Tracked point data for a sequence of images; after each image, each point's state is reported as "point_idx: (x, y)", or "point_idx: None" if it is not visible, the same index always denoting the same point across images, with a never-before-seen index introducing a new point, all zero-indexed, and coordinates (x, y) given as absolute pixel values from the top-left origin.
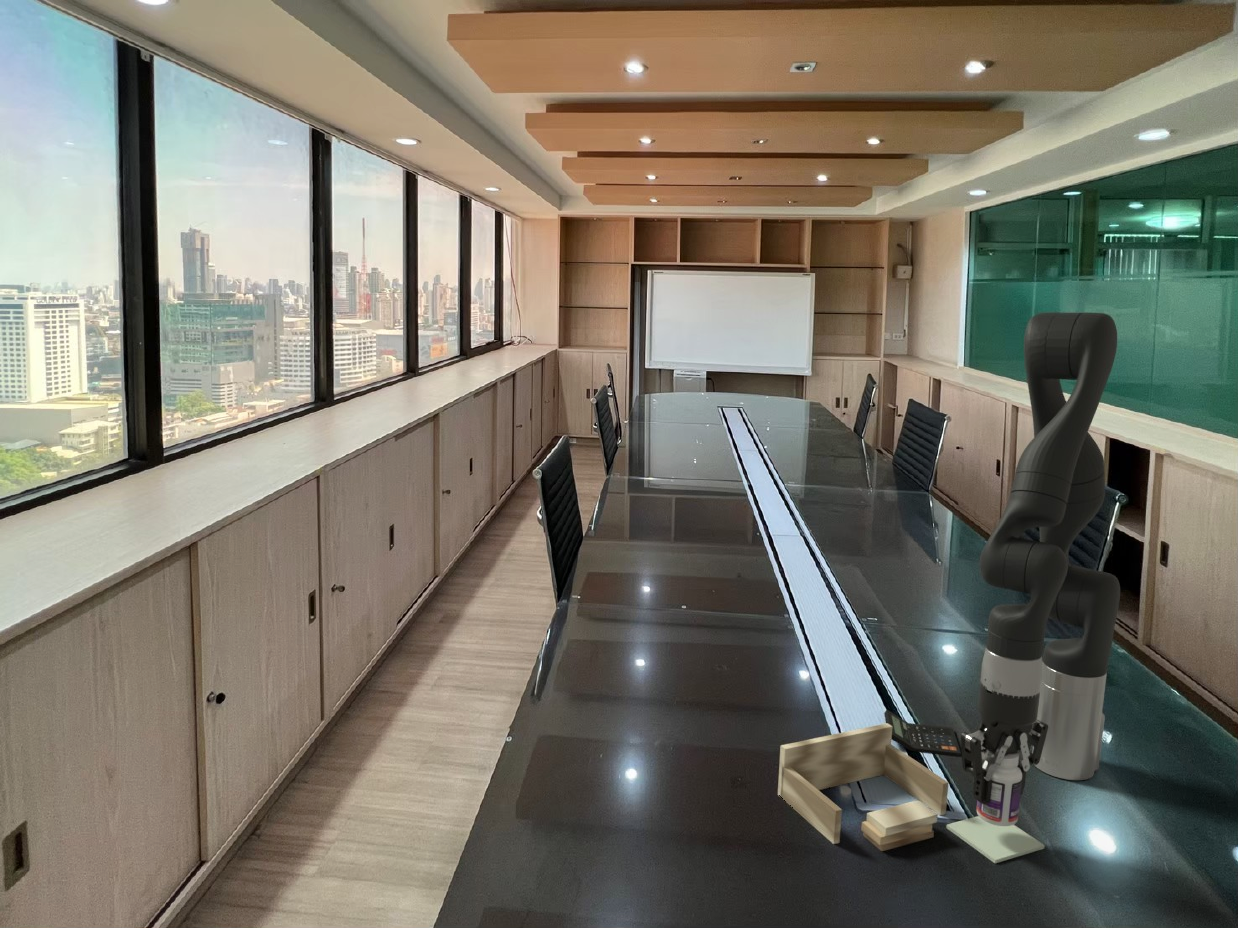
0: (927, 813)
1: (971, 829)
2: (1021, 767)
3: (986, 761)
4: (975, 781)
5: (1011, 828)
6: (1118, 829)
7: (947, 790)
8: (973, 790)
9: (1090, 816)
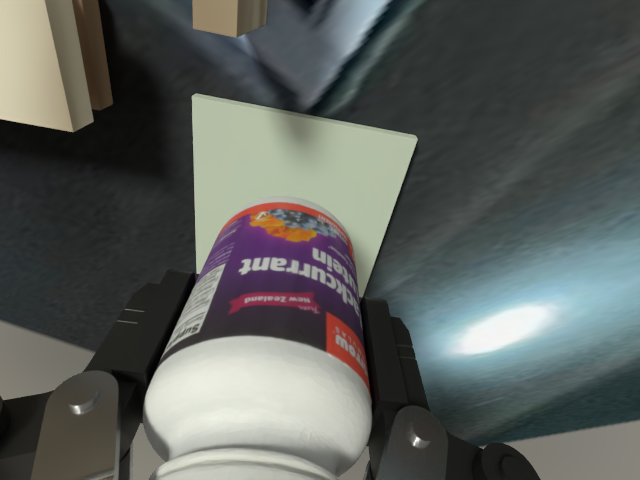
0: (30, 101)
1: (251, 163)
2: (368, 468)
3: (217, 403)
4: (101, 353)
5: (366, 221)
6: (580, 329)
7: (244, 32)
8: (126, 305)
9: (609, 280)
